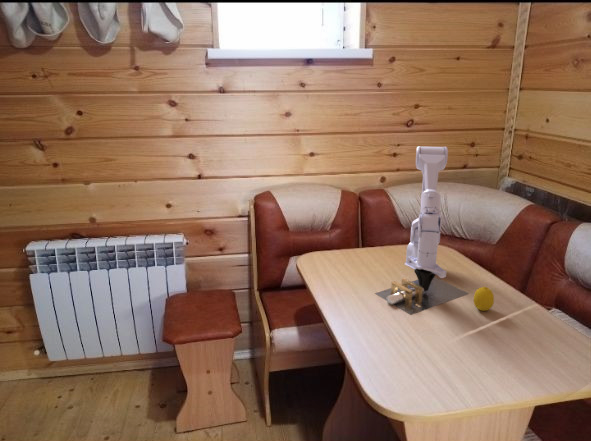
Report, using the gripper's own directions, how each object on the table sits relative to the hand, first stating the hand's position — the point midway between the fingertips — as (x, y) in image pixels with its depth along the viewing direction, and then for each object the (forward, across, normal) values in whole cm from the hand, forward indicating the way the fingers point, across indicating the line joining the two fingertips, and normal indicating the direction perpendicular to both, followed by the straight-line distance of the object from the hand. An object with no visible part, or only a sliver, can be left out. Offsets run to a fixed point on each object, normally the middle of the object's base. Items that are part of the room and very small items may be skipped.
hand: (424, 290), depth 151 cm
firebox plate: (+1, 0, -1) cm, 2 cm away
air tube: (+1, 0, -8) cm, 8 cm away
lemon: (+2, +17, +6) cm, 18 cm away
